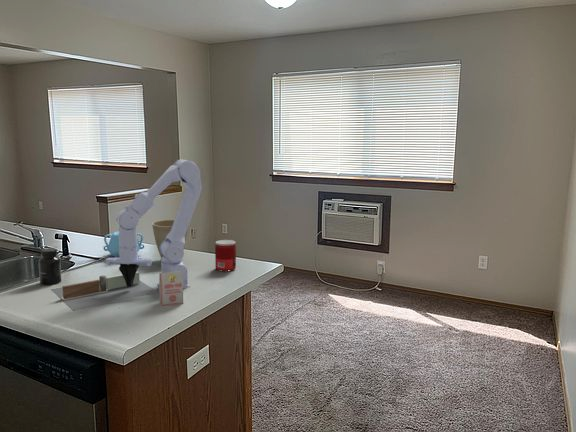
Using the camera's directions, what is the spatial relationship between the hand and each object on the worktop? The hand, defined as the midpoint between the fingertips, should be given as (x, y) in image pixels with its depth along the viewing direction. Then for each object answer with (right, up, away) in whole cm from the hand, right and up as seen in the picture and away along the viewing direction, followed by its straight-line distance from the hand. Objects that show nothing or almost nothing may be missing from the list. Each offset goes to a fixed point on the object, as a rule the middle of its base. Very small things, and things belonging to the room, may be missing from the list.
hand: (129, 285), depth 154 cm
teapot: (-17, +6, +44) cm, 48 cm away
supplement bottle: (-30, 0, +7) cm, 31 cm away
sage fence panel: (-3, -1, +4) cm, 5 cm away
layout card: (-8, -2, 0) cm, 8 cm away
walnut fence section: (-13, -2, -4) cm, 14 cm away
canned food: (+28, +2, +28) cm, 40 cm away
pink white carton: (+16, -4, -9) cm, 19 cm away
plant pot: (+4, +5, +39) cm, 39 cm away
